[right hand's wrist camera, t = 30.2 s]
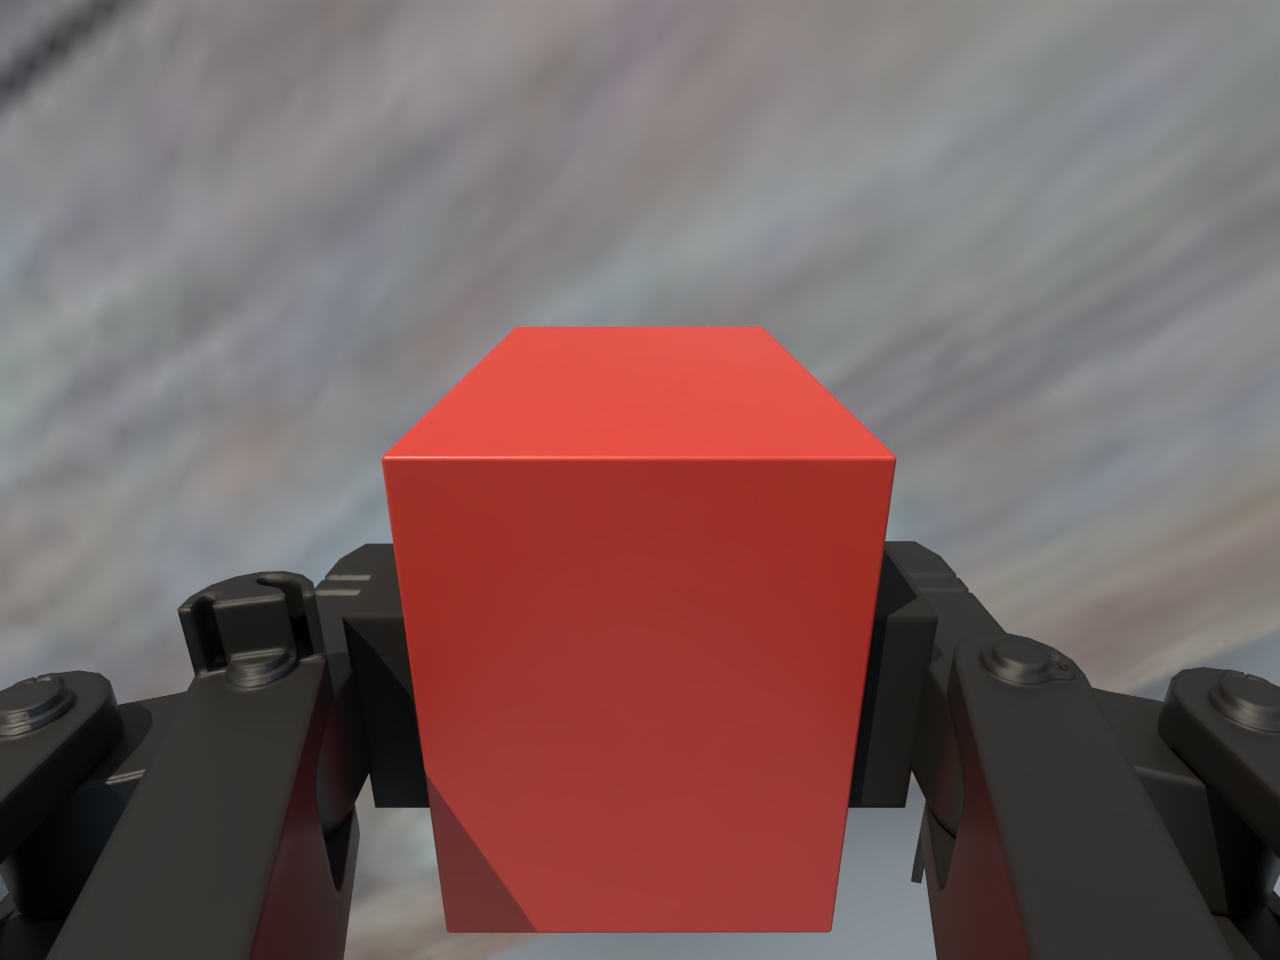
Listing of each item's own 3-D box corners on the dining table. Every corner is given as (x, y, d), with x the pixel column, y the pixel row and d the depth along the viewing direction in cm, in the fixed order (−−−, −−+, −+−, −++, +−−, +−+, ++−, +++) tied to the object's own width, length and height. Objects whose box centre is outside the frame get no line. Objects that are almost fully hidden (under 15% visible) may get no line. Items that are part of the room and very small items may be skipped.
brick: (514, 326, 14) (379, 457, 7) (763, 326, 14) (898, 457, 7) (532, 608, 17) (445, 934, 9) (745, 608, 17) (832, 934, 9)
